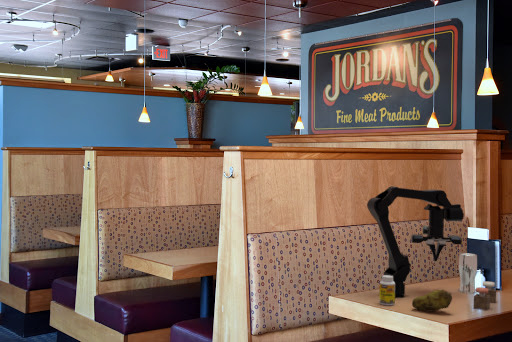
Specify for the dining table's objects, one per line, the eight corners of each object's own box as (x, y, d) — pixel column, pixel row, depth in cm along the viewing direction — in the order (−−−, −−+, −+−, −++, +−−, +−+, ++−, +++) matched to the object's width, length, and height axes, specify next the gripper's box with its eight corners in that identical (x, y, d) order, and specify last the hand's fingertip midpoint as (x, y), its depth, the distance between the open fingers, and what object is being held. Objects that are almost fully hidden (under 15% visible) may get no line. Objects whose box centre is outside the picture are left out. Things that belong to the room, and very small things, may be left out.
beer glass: (477, 293, 247) (478, 256, 246) (459, 292, 248) (460, 255, 248) (475, 290, 254) (476, 253, 253) (457, 289, 255) (458, 252, 255)
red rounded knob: (474, 303, 223) (474, 288, 222) (477, 301, 226) (477, 286, 226) (486, 305, 220) (487, 290, 220) (489, 302, 224) (489, 288, 224)
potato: (421, 306, 224) (421, 284, 224) (454, 313, 215) (455, 290, 215) (409, 310, 218) (410, 287, 218) (443, 317, 209) (444, 293, 209)
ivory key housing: (482, 301, 233) (483, 290, 233) (480, 299, 237) (481, 287, 237) (495, 302, 232) (496, 290, 232) (493, 299, 236) (493, 288, 236)
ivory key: (483, 297, 233) (483, 283, 233) (481, 294, 237) (481, 281, 237) (495, 297, 232) (495, 284, 232) (493, 295, 236) (493, 281, 236)
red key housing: (473, 308, 223) (473, 296, 222) (476, 305, 226) (476, 293, 226) (486, 310, 220) (487, 297, 220) (489, 307, 224) (490, 295, 224)
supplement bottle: (378, 305, 225) (378, 276, 225) (380, 301, 230) (380, 274, 230) (394, 306, 223) (394, 278, 223) (395, 303, 228) (396, 275, 228)
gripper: (457, 220, 251) (456, 258, 251) (409, 218, 253) (408, 257, 254) (462, 223, 240) (461, 263, 240) (412, 221, 242) (412, 261, 243)
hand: (435, 261), depth 245 cm, fingers closed
